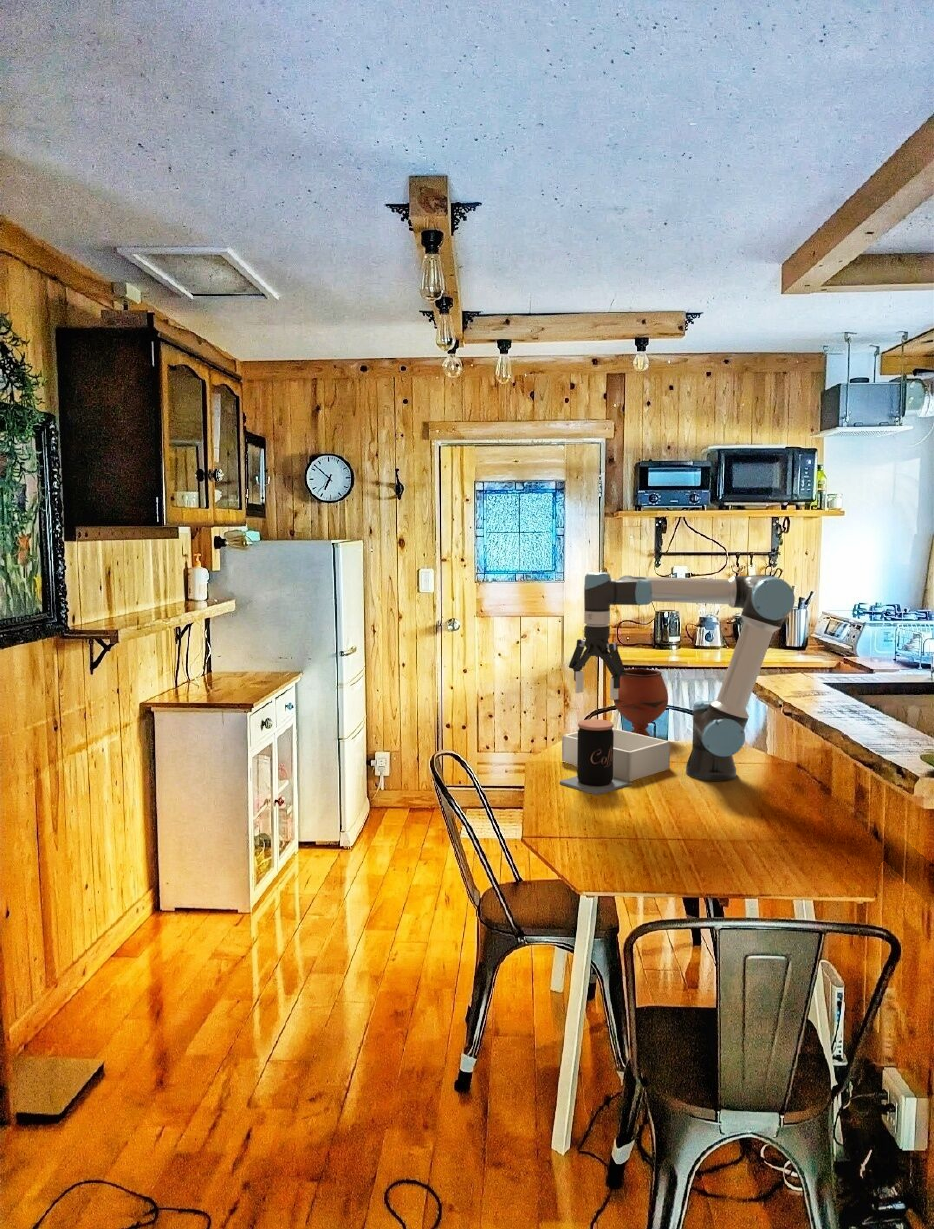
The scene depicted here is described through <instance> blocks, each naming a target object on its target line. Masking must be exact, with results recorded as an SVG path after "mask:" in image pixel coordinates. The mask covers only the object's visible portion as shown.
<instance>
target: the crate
mask: <svg viewBox="0 0 934 1229" xmlns="http://www.w3.org/2000/svg"><path fill="white" fill-rule="evenodd" d="M612 730H613V732H614V745H613V778H617V779H620V780H624V781H627V782H633V781H634V780H635V781H636V780H639V779H641V778H645V777H648V776H652V775H654V774H659V773H661V772H664V771H668V770H670V768H671V767H670V764H671V762H670V760H671V758H670V757H671V741H669V740H665V739H663V738H662V739H660V738H656V737H652V736H651V737H649V736H644V735H640V734H636V733H632V731H627V730H623V729H618V728H614V727H613V728H612ZM577 744H578V731H575V732H571V733H567V734H563V735H562V736H561V762H562V761H565V762H567V763H569V764H568V765H570V764H572V765H571V766H573V765H574V767H577Z"/></svg>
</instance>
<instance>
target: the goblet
mask: <svg viewBox="0 0 934 1229" xmlns="http://www.w3.org/2000/svg"><path fill="white" fill-rule="evenodd" d="M624 669H625V671H626V675H625V676H621V677H620V688H618V699H615V700H613V704H614V706H615V708H616V710H617V711H618V713H619V714H620V715H621V716H622V717H623V718H625V719H626V720H627V721H628V722H630V723H631V726H632V727H633V729H632V730H631V732H632V733H636V734H640V735H644V736H649V737H652V736H651V734H650V732H648V730H647V728H648V727H649V724H651V723H654V721H656V720H658V719H659V718H660V717H661V716H662V715H663V713H664V712H665V710H666V709H667V707H668V705H669V693H668V689H667V687H666V684H665V681H664V678H663V676H662V675H663V673H662V671H660V670H657V669H649V668H648V669H647V668H624Z"/></svg>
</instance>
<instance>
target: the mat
mask: <svg viewBox="0 0 934 1229" xmlns="http://www.w3.org/2000/svg"><path fill="white" fill-rule="evenodd" d="M631 782H632V781H626V780H622V779H619V778H615V777H613V780H612V781H611V783H610V784H609V785H606V786H587V785H584V784H581V783H580V781H579V780H578V778H577V775H576V776H573V777H569V778H565V779H562V780H559V784H560V785H562V786H565V787H569V788H572V789H575V790H578V791H581V792H585V793H587V794H592V795H595V796H600V795H604V794H607V793H610V792H613V791H616V790H620V789H623V788H626V787H630V786H631Z"/></svg>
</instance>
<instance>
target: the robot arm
mask: <svg viewBox="0 0 934 1229" xmlns="http://www.w3.org/2000/svg"><path fill="white" fill-rule="evenodd" d="M611 578H612V577H611V574H610V572H598V571H597V572H588V573H586V574H585V576H584V587H583V590H584V591H583V598H584V601H583V602H584V604H583V606H584V610H583V611H584V613H583V615H584V616H583V617H584V619H583V620H584V624H585V625H584V626H583V637H584V638H579V639H577V640H576V646H575V648H574V652H573V654H572V657H571V659H570V662H569V663H568V667H569V669H571V670H573V681H574V682H575V694H579V693H583V692H584V670H583V668H584V666H585V665H586V664H587V662H588V660H590V658H591V657H597V658H600V659H601V660H602V661H603V663H604V664H605V666H606V668H607V670H608V671H609V673H610V674H611V677H610V681H609V682H610V683H609V684H610V685H609V686H610V687H609V690H610V691H609V692H610V694H609V699H610V701H614V700H615V699H618V688H620V677H621V676H625V675H626V671H625V669H626V668H625V666H624V663H623V661H622V658H621V655H620V653H619V648H618V647H619V646H618V643H617V642H612V643H609V638H610V637H611V628H610V624H611V606H617V605H618V606H639V607H640V606H644V605H645V606H647V605H648V606H649V605H650V604H651V603H652V602H655V603H656V602H660V603H685V604H686V603H687V604H688V603H689V604H710V605H711V604H713V605H728V606H729V607H730V608H732V609H735V608H736V609H742V611H741V613H740V616H741V619H742V621H743V625H742V627H741V631H740V633H739V635H738V639H737V642H736V645H735V647H734V648H733V649H734V650H733V653H732V656H731V658H730V661H729V664H728V667H727V670H726V672H725V675H724V678H723V681H722V684H721V687H720V690H719V693H718V695H717V698H716V699H715V700H710V701H709V700H700V701H699V700H698V701H696V702H694V704H693V707H692V744H691V746H692V748H691V751H690V753H689V754H690V755H689V758H688V759H687V763H686V765H685V766H686V767H685V773H686V775H687V776H689V777H691V778H694V779H698V780H702V781H710V782H711V781H713V782H724V781H730V780H734V779H736V777H737V766H736V763H735V760H734V757H733V756H734V755H735V754H737V753H738V752H740V751H741V749H743V746H744V744H745V741H746V733H745V729H746V726H747V724H748V720H749V717H750V716H749V714H748V711H747V707H748V704H749V702H750V699H751V697H752V693H753V690H754V687H755V685H756V682H757V679H758V677H759V674H760V670H761V669H762V665H763V662H764V660H765V657H766V654H767V652H768V649H769V646H770V643H771V640H772V637H773V635H774V633H775V632H776V631H779V630H781V628H782V625H783V623H784V620H785V618H786V617H787V616H788V615H789V614H790V613H791V611H792V610H793V608H794V605H795V601H796V597H795V593H794V590H793V588H792V586H791V585H790V584H789V583H788V582H787V581H786V580H784V579H782V578H780V577H777V576H773V575H769V574H753V575H741V576H740V575H739V576H738V575H732V576H730V578H724V579H723V578H699V577H698V578H696V577H695V578H694V577H693V578H692V577H667V576H665V577H662V576H659V577H658V576H634V575H633V576H632V575H623V576H621V577H620V578H618V579H613V578H612V579H611ZM585 648H586V649H585Z"/></svg>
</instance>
